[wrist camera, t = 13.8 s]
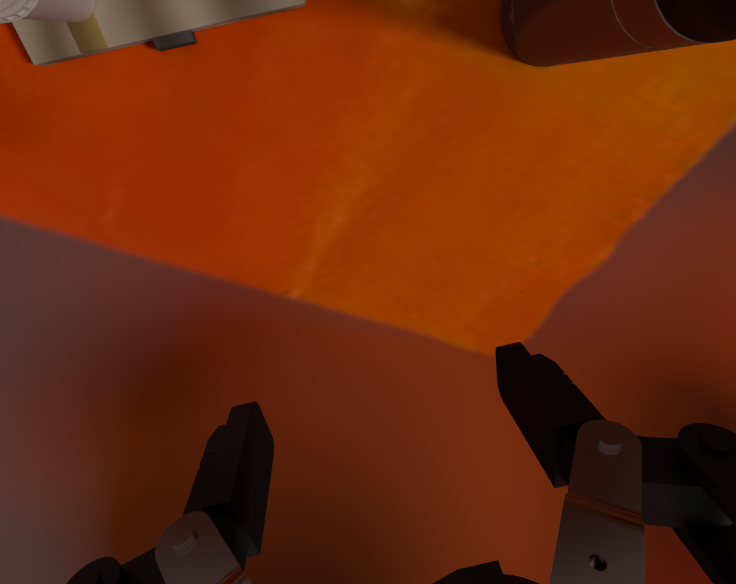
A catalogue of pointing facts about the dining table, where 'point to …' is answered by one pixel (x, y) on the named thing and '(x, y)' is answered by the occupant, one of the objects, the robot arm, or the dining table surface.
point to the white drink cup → (46, 10)
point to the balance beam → (136, 26)
